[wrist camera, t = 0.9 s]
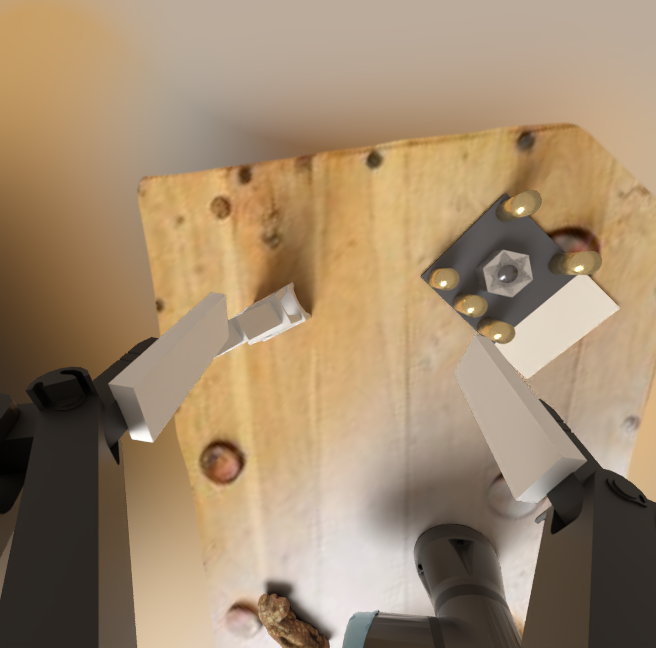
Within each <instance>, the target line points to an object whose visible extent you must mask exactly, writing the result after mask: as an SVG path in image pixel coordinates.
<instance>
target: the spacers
mask: <svg viewBox="0 0 656 648" xmlns="http://www.w3.org/2000/svg"><path fill="white" fill-rule="evenodd" d="M541 202H542V199H541V196H540V194H539V193H538V192H537V191H535V190H526V191H524V192H522V193H520V194H518V195H516V196H514V197H512V198H510V199H508V200H506V201H504V202H502V203H500V204H499V206H498V207H497V209H496V217H497V219H498V220H499V221H501V222H510V221H513V220H516V219H519V218H522V217H525V216H528V215H531V214H533V213H535V212H536V211H537V210H538V209H539V207H540V205H541ZM601 264H602V258H601V256H600V255H599V254H598V253H597V252H595V251H584V252H573V253H561V254H557V255H555V256H553V257H552V258H551V259H550V261H549V263H548V268H549V271H550V272H551V273H553V274H557V275H590V274H593V273H595V272H596V271H597V270H598V269H599V268H600V266H601ZM428 283H429V285H430V286H432V287H434V288H438V289H442V290H451V289H453V288H455V287H456V286H457V284H458V283H459V274H458V273H457V271H456V270H454V269H451V268H440V269H434V270H432V271H431V272H430V273H429V275H428ZM452 304H453V307H454V309H455V310H457V311H459V312H461V313H463V314H466V315H468V316H471V317H480V316H482V315H483V314H484V313H485V312H486V310H487V307H488V304H487V301H486V300H485V299H484V298H483V297H481V296H477V295H472V294H467V293H460V294H458V295H456V296H455V297H454V299H453V302H452ZM477 330H478V332H479V333H480V334H482V335H484V336H486V337H489V338H490V339H491V340H493V341H495V342H497V343H499V344H507V343H509V342H511V341H512V340H513V339H514V337H515V329H514V327H513V326H512V325H510V324H508V323H505V322H502V321H500V320H497V319H494V318H491V317H485V318H482V319H481V320H480V321H479V322H478V324H477Z"/></svg>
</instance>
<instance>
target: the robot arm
mask: <svg viewBox="0 0 656 648" xmlns="http://www.w3.org/2000/svg"><path fill="white" fill-rule="evenodd" d="M228 338H229V331H228V318H227V305H226V295H225V294H219V293H213V292H211V293H210V294H208V295H207V296H206V297H205V298H204V299H203V300H202V301H201V302H199V303H198V304H197V305H196V306H195V307H194V308H193V309H192V310H190V311H189V312H188V313H187V314H186V315H185V316H184V317H183V318H181V319H180V320H179V321H178V322H177V323H176V324H175V325H174V326H172V327H171V328H170V329H169V330H168V331H167V332H166V333H165V334H163V335H162V336H161V337H160V338H153V337H151V338H149V339H147V340H144V341H143V342H140V343H138V344H137V345H136V346H134V347H133V348H132V349H131V350H130V351H128V354H125V355H124V356H122V357H121V358H120V360H119V361H116V362H115V363H114V364H113V365H111V366H110V367H109V368H108V369H107V370H105V371H104V372H103V373H102V374H101V375H99V376H98V377H97V378H96V379H94V380H93V381H92V379H91V377H90V375H89V373H88V371H87V370H86V369H83V368H81V367H67V368H61V369H58V370H55V371H51V372H48V373H46V374H44V375H42V376H40V377H38V378H37V379H36V380H34V381H33V382H32V383H30V385H29V386H28V388H27V389H26V392H27V393H28V395H29V397H30V398H31V399H32V401H33V402H34V403H28V404H18V405H16V404H15V402H14V401H13V400H12V398H11V397H10V396H9V395H6V394H3V393H0V557H1V555H2V553H3V551H4V549H5V547H6V545H7V543H8V541H9V539H10V537H11V535H12V533H13V531H14V535H13V540H12V545H11V550H10V555H9V560H8V564H7V570H6V575H5V579H4V584H3V589H2V594H1V599H0V648H137V640H136V626H135V613H134V601H133V587H132V573H131V560H130V547H129V532H128V520H127V505H126V492H125V479H124V465H123V452H122V443H121V440H120V437H121V436H122V435H123V434H124V433H125V431H126V430H127V429H128V431H129V433H130V435H131V438H132V439H135V440H141V441H147V442H154V441H155V439H156V438H157V437H158V435H159V434H160V432H161V431H162V430H163V428H164V427H165V426H166V424H167V423H168V421H169V420H170V419H171V417H172V416H173V415H174V413H175V412H176V410H177V409H178V408H179V406H180V405H181V403H182V402H183V401H184V399H185V398H186V397H187V395H188V394H189V392H190V391H191V390H192V388H193V387H194V385H195V384H196V383H197V381H198V380H199V379H200V377H201V376H202V374H203V373H204V372H205V370H206V369H207V367H208V366H209V365H210V363H211V362H212V361H213V359H214V358H215V356H216V355H217V354H218V352H219V351H220V349H221V348H222V347H223V345H224V344H225V342H226V341H227V340H228ZM454 376H455V378H456V380H457V382H458V384H459V386H460V388H461V390H462V392H463V394H464V396H465V398H466V400H467V402H468V404H469V407H470V409H471V411H472V413H473V415H474V417H475V419H476V421H477V423H478V425H479V427H480V429H481V431H482V433H483V435H484V437H485V439H486V442H487V444H488V446H489V448H490V450H491V452H492V454H493V456H494V458H495V460H496V462H497V464H498V466H499V468H500V470H501V472H502V474H503V476H504V479H505V481H506V483H507V485H508V487H509V489H510V491H511V493H512V495H513V497H514V499H515V501H522V502H528V503H534V504H537V503H538V502H539V501H540V500H541V499H543V498H544V497H545V496H546V495H547V497H548V498H549V500H550V502H551V503H552V506H551V507H549V508H548V509H547V510H546V511H544V512H543V513H542V514H540V515H539V516H538V517H537V518H536V519H535V522H536V523H537V524H538V523H540V522H541V521H542V520H545V523H544V527H543V533H542V538H541V544H540V549H539V554H538V559H537V564H536V569H535V575H534V580H533V585H532V590H531V595H530V600H529V606H528V611H527V616H526V621H525V626H524V631H523V637H521V635H520V633H519V630H518V628H517V626H516V623H515V621H514V619H513V617H512V614H511V612H510V610H509V607H508V605H507V603H506V599H505V592H504V586H503V580H502V574H501V567H500V563H499V560H498V557H497V555H496V553H495V551H494V549H493V547H492V545H491V543H490V542H489V541H488V539H487V538H486V537H484V536H483V535H482V534H481V533H479V532H478V531H476V530H474V529H471V528H469V527H466V526H461V525H441V526H437V527H434V528H432V529H430V530H428V531H426V532H425V533H424V534H423V535H422V536H421V537H420V538H419V539H418V541H417V542H416V545H415V548H414V558H415V564H416V569H417V572H418V575H419V577H420V579H421V582H422V584H423V586H424V588H425V590H426V592H427V594H428V596H429V598H430V600H431V603H432V605H433V607H434V611H435V615H436V617H429V616H417V615H406V614H395V613H384V612H379V611H374V612H358V613H355V614H354V615H353V616H352V617H351V618H350V620H349V622H348V625H347V628H346V632H345V636H344V641H343V647H342V648H656V503H655V502H653V501H651V500H648V499H647V498H646V496H645V495H644V494H643V493H642V492H641V491H640V490H639V489H638V488H637V487H636V486H635V485H634V484H633V483H631V482H630V481H628V480H627V479H625V478H624V477H622V476H621V475H619V474H617V473H615V472H613V471H610V470H606V469H603V468H602V467H601V466H600V465H599V464H598V462H597V461H596V460H595V459H594V457H593V456H592V455H591V454H590V453H589V451H588V450H587V449H586V448H585V447H584V445H583V444H582V443H581V442H580V441H579V439H578V438H577V437H576V436H575V435H574V433H571V430H570V428H569V427H568V426H567V425H566V424H565V423H563V420H562V419H561V418H560V416H559V415H558V414H557V413H556V412H555V410H554V409H552V408H551V407H550V406H549V405H548V404H546V403H545V402H544V401H543V400H541V399H538V398H537V397H536V396H535V394H534V393H533V392H532V391H531V389H530V388H529V387H528V386H527V384H526V383H525V382H524V381H523V379H522V378H521V377H520V376H519V374H518V373H517V372H516V371H515V369H514V368H513V367H512V366H511V364H510V363H509V362H508V361H507V359H506V358H505V357H504V356H503V354H502V353H501V352H500V351H499V349H498V348H497V347H496V346H495V344H494V343H493V342H492V340H491V339H490V338H489V337H484V336H478V335H474V337H473V339H472V340H471V342H470V344H469V346H468V348H467V350H466V352H465V354H464V355H463V357H462V359H461V361H460V363H459V365H458V367H457V369H456V370H455V372H454ZM14 529H15V530H14Z"/></svg>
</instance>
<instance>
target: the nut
mask: <svg viewBox="0 0 656 648" xmlns="http://www.w3.org/2000/svg"><path fill="white" fill-rule="evenodd" d="M476 273H477V277H478V282H479V287H480V291H485V292H489V293H494V294H498V295H502V296H508V297H513V296H514V295H516V294H517V293H518V292H519V291H520V290H521V289H522V288H524V287H525V286H526V285H527V284H528V283H529V282H531V281H532V280H533V277H532V271H531V266H530V260H529V255H525V254H520V253H515V252H511V251H506V250H499V251H494V252H493V253H492V254H491V255H490V256H489V257H488V258H487V259H486V260H484V261H483V262H482V263H481V264H480V265H479V266H478V267H477V268H476Z"/></svg>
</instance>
